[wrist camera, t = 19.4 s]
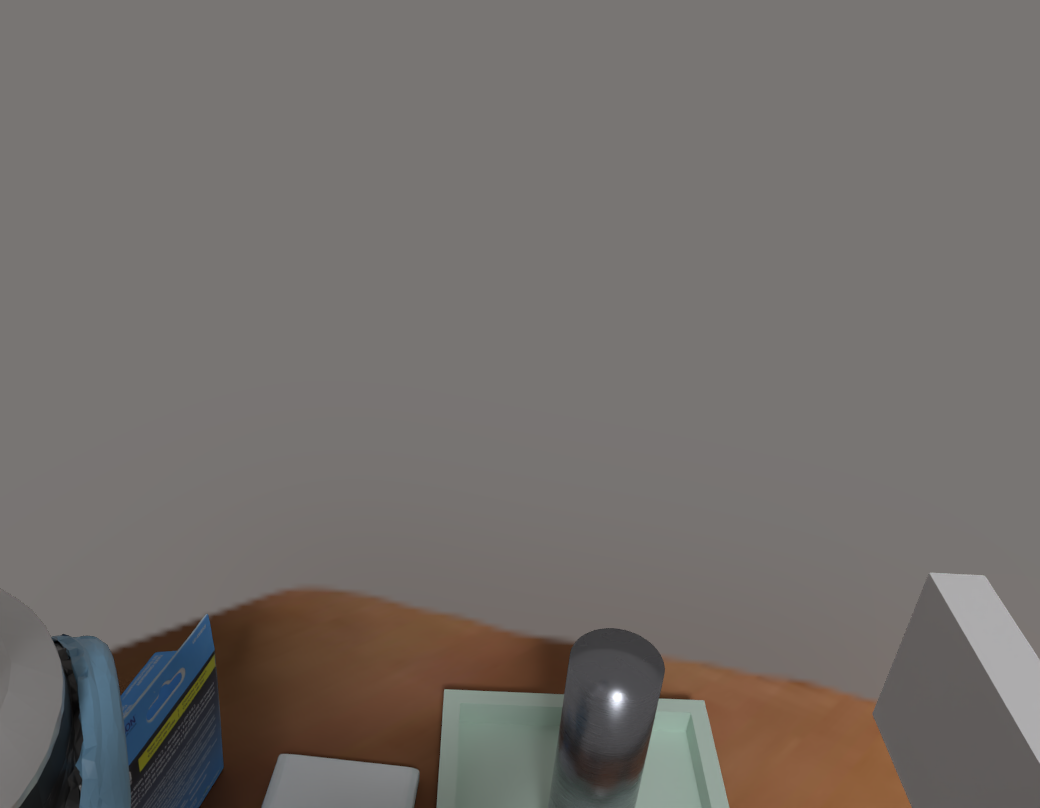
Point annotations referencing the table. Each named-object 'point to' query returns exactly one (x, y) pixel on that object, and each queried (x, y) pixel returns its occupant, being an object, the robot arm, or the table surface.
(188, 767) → the label tape box
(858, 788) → the table surface
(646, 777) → the tray
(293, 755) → the external hard drive
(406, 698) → the table surface
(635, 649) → the pin
